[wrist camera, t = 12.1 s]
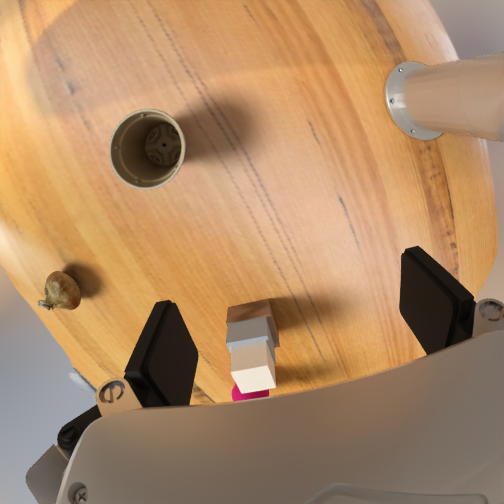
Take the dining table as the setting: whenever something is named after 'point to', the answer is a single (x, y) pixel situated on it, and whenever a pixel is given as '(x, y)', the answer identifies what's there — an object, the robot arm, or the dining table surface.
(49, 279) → the onion
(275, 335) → the walnut block
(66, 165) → the dining table surface
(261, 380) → the cream block
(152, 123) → the flower pot
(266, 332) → the slate block
